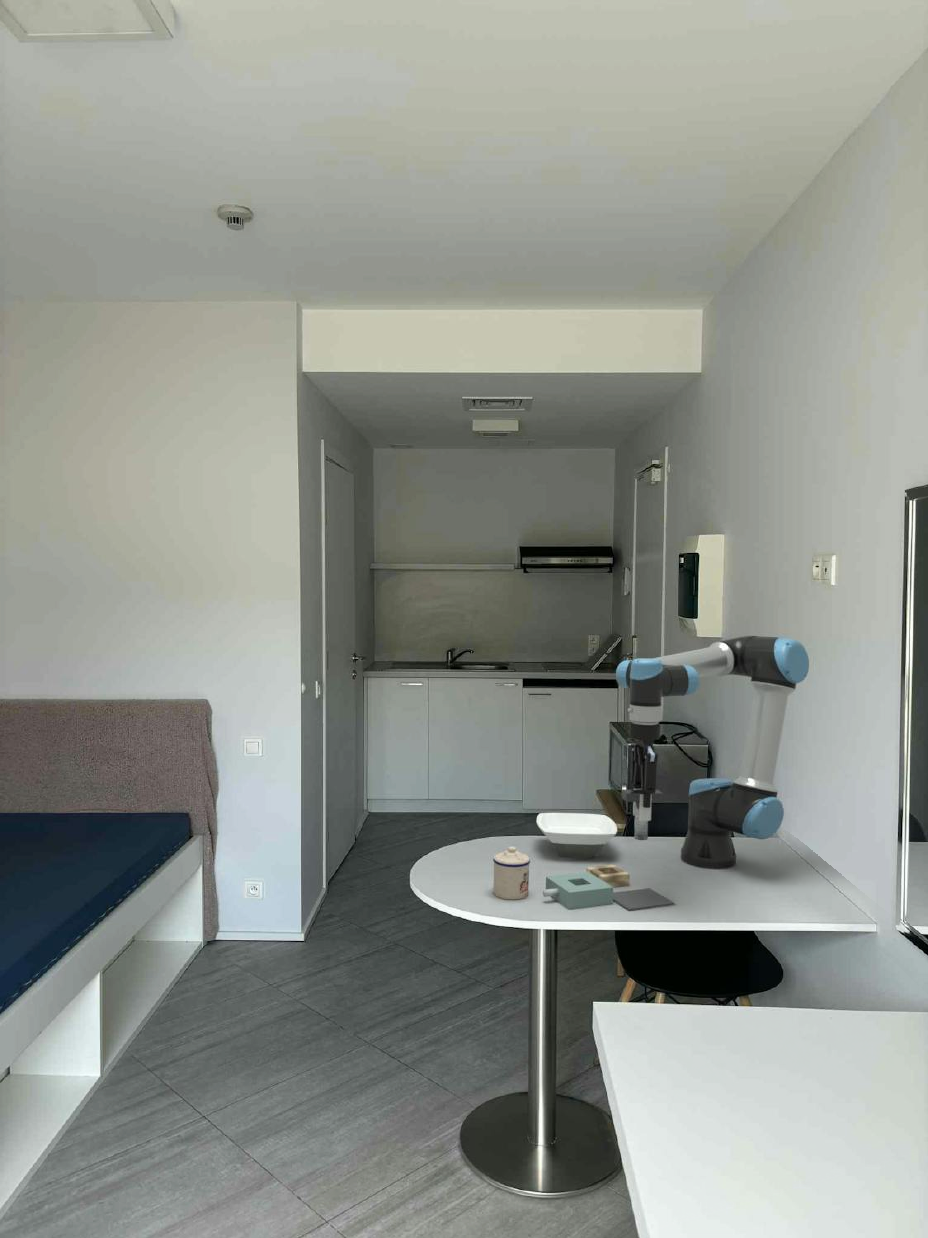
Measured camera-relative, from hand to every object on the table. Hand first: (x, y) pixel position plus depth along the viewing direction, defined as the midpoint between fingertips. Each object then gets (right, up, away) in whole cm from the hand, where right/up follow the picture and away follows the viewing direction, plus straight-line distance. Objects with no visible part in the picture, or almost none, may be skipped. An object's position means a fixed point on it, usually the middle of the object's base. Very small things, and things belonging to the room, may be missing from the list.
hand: (641, 817), depth 216 cm
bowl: (-11, -19, +39) cm, 45 cm away
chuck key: (0, -5, 0) cm, 5 cm away
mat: (0, -20, +1) cm, 20 cm away
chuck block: (-17, -20, +1) cm, 26 cm away
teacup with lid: (-32, -20, +4) cm, 37 cm away
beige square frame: (-6, -20, +13) cm, 25 cm away
